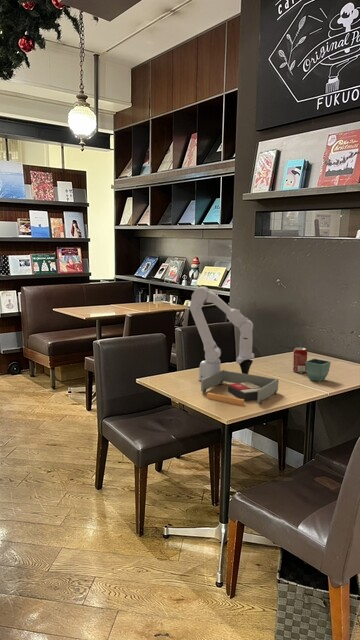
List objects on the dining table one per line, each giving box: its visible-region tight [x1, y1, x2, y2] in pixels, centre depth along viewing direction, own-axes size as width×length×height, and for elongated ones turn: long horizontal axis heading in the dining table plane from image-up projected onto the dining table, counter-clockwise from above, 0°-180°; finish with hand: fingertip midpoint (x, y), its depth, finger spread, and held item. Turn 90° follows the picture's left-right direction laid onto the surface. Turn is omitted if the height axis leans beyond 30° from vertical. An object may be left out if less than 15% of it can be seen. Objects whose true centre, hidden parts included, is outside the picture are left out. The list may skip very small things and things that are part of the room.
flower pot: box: [305, 358, 331, 382], centre depth 218 cm, size 9×9×9 cm
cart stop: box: [206, 392, 245, 406], centre depth 186 cm, size 16×2×2 cm, turn 57°
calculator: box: [227, 382, 268, 402], centre depth 194 cm, size 11×4×15 cm
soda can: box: [292, 346, 308, 374], centre depth 233 cm, size 7×7×12 cm
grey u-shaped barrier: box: [200, 369, 279, 405], centre depth 196 cm, size 27×20×6 cm
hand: (245, 375), depth 212 cm, fingers closed
